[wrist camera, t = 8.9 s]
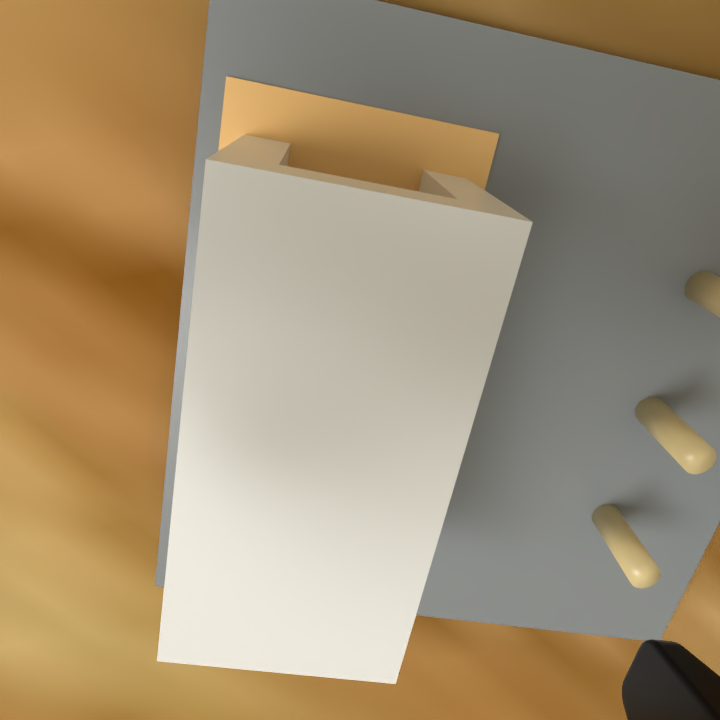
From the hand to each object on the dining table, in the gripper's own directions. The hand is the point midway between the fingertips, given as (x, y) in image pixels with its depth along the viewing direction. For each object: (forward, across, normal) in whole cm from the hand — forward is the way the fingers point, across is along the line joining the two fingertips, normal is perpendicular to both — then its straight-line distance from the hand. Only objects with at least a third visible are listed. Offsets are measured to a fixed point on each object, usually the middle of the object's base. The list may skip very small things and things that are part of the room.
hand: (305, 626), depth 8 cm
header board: (+10, -5, 0) cm, 11 cm away
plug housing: (+9, 0, 0) cm, 9 cm away
